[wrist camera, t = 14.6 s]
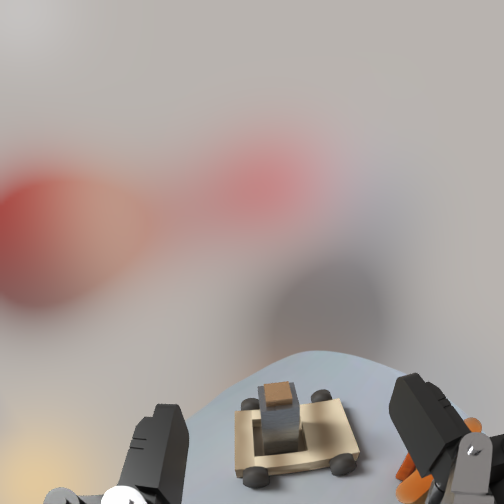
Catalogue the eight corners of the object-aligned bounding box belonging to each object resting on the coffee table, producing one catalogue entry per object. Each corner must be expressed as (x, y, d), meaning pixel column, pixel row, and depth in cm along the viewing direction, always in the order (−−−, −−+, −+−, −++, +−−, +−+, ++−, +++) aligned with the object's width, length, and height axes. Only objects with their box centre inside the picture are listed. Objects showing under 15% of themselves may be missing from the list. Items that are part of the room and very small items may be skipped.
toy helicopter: (455, 464, 23) (498, 398, 19) (388, 592, 9) (445, 575, 5) (407, 452, 28) (438, 385, 24) (325, 572, 14) (350, 552, 10)
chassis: (334, 400, 42) (336, 387, 41) (360, 470, 28) (365, 459, 27) (236, 412, 42) (234, 399, 41) (237, 488, 27) (234, 478, 26)
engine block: (292, 428, 37) (293, 376, 33) (297, 451, 32) (300, 401, 29) (262, 432, 36) (257, 380, 33) (264, 455, 32) (259, 406, 29)
